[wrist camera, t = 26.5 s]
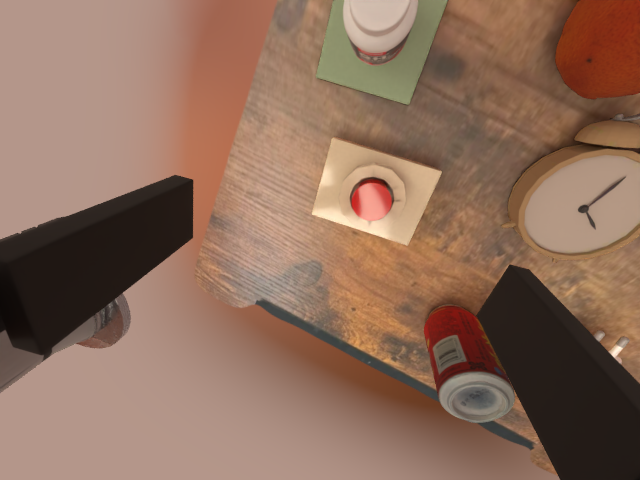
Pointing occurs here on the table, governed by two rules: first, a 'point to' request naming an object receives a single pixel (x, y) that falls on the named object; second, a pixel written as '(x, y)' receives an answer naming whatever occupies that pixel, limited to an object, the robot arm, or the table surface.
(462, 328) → the soda can
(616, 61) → the fruit
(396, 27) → the pill bottle
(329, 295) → the table surface
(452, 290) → the table surface
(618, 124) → the alarm clock
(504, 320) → the robot arm
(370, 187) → the button
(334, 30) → the mat
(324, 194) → the control block
